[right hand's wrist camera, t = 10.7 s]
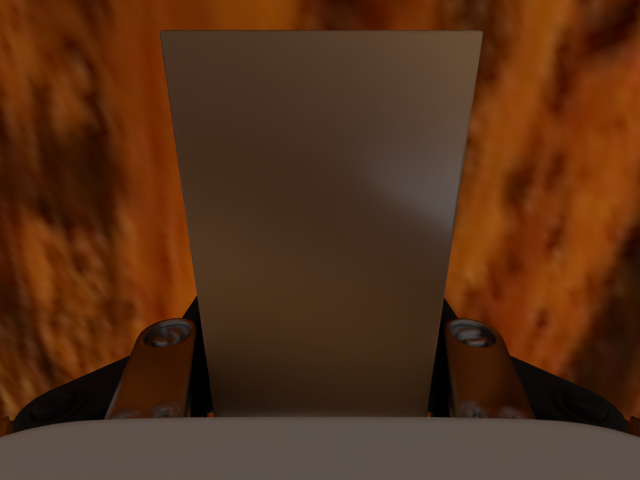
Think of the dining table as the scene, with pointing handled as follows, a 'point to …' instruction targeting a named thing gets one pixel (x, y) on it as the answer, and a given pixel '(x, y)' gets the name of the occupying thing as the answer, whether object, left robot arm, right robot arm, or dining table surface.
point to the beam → (320, 209)
